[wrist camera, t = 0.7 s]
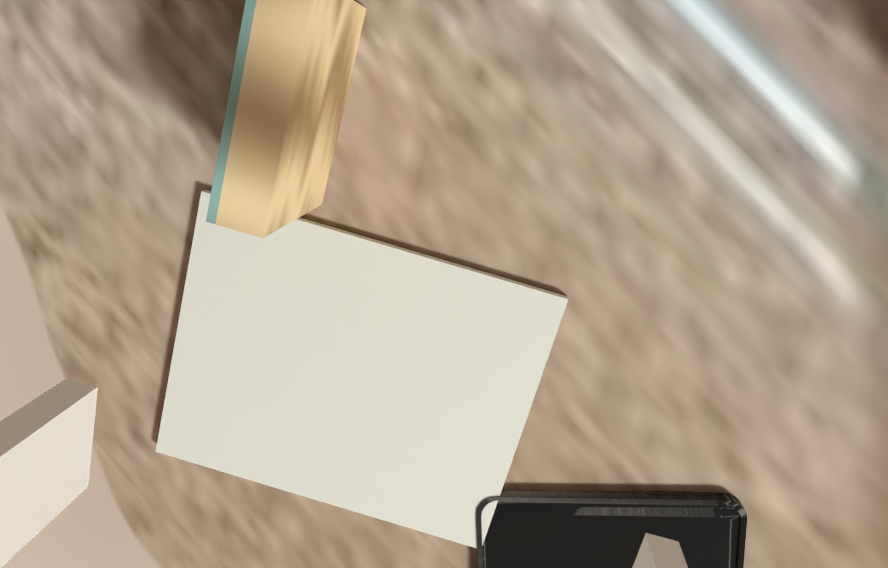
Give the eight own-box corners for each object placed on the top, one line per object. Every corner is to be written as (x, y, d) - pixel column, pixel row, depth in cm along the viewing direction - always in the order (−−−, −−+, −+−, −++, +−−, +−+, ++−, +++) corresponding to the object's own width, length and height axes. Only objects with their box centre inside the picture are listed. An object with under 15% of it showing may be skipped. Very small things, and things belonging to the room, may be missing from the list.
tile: (319, -6, 33) (253, -41, 25) (366, 8, 33) (316, -23, 25) (278, 191, 36) (205, 221, 27) (322, 204, 36) (262, 238, 27)
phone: (738, 619, 39) (479, 611, 41) (732, 605, 41) (480, 598, 42) (748, 498, 37) (475, 495, 39) (741, 487, 39) (476, 484, 40)
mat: (206, 189, 36) (201, 191, 36) (567, 296, 36) (568, 299, 36) (160, 446, 41) (155, 451, 40) (481, 543, 41) (481, 549, 40)
